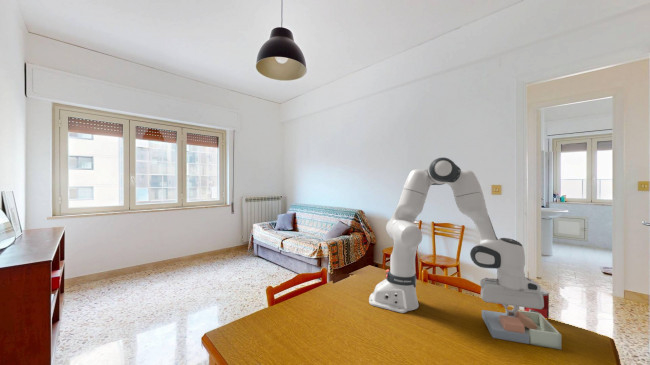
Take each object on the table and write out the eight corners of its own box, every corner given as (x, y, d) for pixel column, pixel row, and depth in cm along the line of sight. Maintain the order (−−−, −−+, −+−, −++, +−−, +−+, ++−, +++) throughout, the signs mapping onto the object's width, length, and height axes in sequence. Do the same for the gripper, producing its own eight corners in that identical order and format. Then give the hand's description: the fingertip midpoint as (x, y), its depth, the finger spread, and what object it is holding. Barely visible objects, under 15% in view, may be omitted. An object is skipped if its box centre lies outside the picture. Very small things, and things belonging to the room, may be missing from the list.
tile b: (504, 330, 91) (504, 323, 91) (499, 321, 97) (499, 314, 97) (524, 333, 89) (524, 326, 89) (517, 324, 95) (517, 317, 95)
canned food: (553, 321, 102) (553, 294, 102) (530, 319, 104) (530, 293, 104) (541, 312, 110) (541, 287, 110) (520, 310, 111) (520, 285, 111)
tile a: (517, 321, 96) (520, 316, 96) (511, 313, 102) (514, 308, 101) (533, 331, 94) (537, 326, 94) (526, 323, 100) (530, 318, 100)
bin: (530, 344, 88) (530, 329, 88) (514, 321, 102) (514, 309, 102) (561, 349, 85) (561, 334, 85) (540, 325, 99) (540, 313, 99)
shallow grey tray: (492, 337, 92) (492, 329, 92) (481, 316, 106) (481, 309, 106) (529, 344, 88) (529, 335, 88) (512, 321, 102) (513, 314, 102)
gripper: (482, 280, 100) (482, 315, 100) (546, 287, 93) (546, 324, 93) (478, 274, 106) (478, 307, 106) (538, 280, 99) (538, 316, 99)
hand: (510, 315), depth 99 cm, fingers closed
